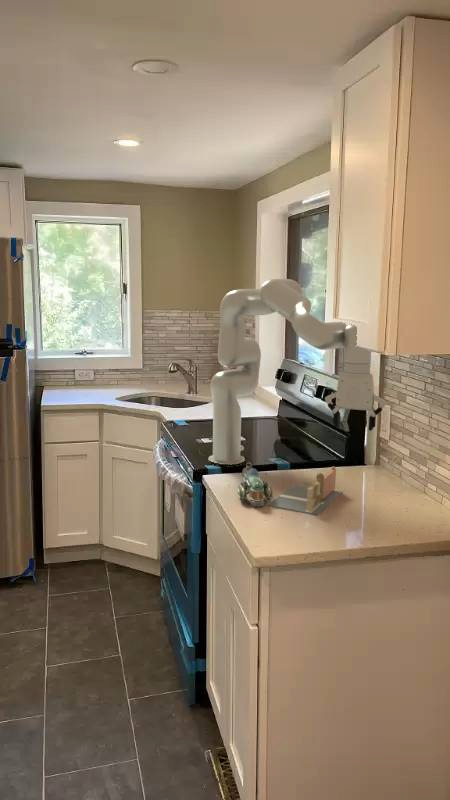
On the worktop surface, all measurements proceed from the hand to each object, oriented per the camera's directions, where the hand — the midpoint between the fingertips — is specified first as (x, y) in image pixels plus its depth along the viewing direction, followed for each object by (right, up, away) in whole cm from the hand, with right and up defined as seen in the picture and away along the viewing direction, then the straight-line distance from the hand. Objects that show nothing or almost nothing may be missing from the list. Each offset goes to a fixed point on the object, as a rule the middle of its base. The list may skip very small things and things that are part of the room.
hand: (353, 428), depth 183 cm
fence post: (-12, -22, -5) cm, 25 cm away
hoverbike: (-29, -20, +6) cm, 36 cm away
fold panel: (-7, -19, +5) cm, 21 cm away
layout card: (-13, -21, +2) cm, 25 cm away
